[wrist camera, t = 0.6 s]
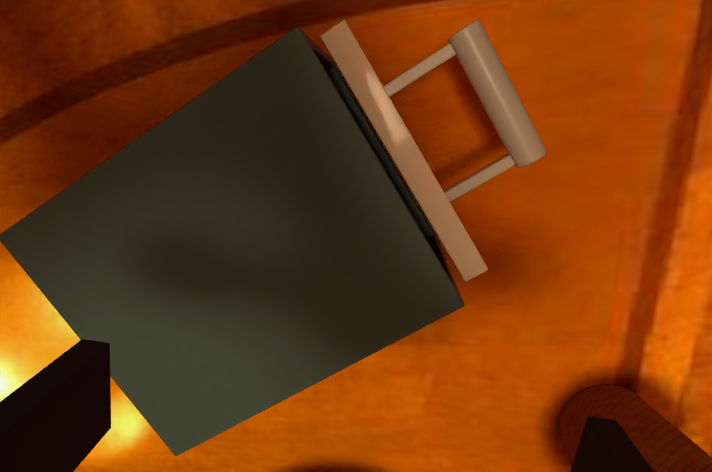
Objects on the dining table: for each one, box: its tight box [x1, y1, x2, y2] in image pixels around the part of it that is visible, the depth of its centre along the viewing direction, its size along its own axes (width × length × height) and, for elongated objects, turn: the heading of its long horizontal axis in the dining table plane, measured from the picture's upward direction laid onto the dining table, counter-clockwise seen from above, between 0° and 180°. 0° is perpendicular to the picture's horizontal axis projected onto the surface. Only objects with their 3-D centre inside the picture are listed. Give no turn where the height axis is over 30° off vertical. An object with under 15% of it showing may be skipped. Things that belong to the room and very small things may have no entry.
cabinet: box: [0, 27, 464, 456], centre depth 26 cm, size 17×14×11 cm
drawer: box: [320, 20, 546, 282], centre depth 25 cm, size 21×12×9 cm, turn 122°
